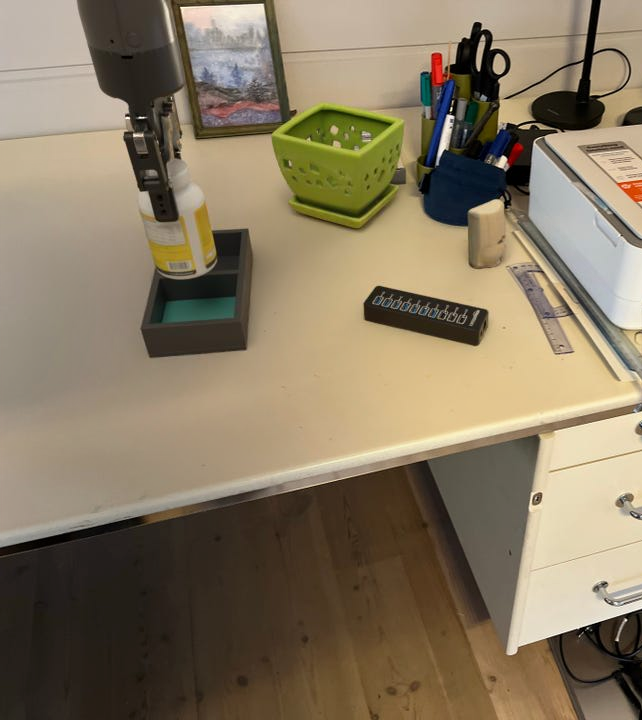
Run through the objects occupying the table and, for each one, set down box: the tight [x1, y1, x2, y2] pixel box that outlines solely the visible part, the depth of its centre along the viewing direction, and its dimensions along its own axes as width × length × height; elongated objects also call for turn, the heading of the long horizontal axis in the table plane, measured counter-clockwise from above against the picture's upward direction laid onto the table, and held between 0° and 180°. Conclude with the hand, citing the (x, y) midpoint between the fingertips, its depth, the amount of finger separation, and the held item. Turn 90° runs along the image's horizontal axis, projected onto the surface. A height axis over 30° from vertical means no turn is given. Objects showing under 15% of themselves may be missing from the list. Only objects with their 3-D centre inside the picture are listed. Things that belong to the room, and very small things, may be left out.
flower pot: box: [270, 101, 405, 229], centre depth 106 cm, size 14×14×13 cm
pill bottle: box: [137, 158, 217, 279], centre depth 79 cm, size 6×6×12 cm
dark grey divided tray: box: [140, 227, 254, 359], centre depth 90 cm, size 20×10×4 cm, turn 11°
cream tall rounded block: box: [467, 198, 507, 269], centre depth 99 cm, size 6×5×8 cm
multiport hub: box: [362, 285, 490, 347], centre depth 90 cm, size 4×14×2 cm, turn 73°
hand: (172, 202), depth 77 cm, fingers closed on pill bottle, 6 cm apart
